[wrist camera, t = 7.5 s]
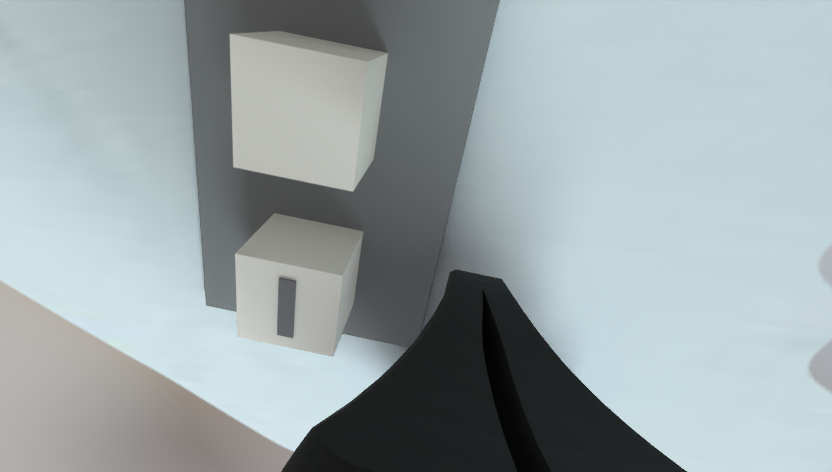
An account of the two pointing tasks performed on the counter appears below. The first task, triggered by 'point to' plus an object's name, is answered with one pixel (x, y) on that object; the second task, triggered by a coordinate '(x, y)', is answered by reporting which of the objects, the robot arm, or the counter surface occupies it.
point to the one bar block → (297, 283)
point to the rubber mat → (394, 152)
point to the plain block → (305, 107)
